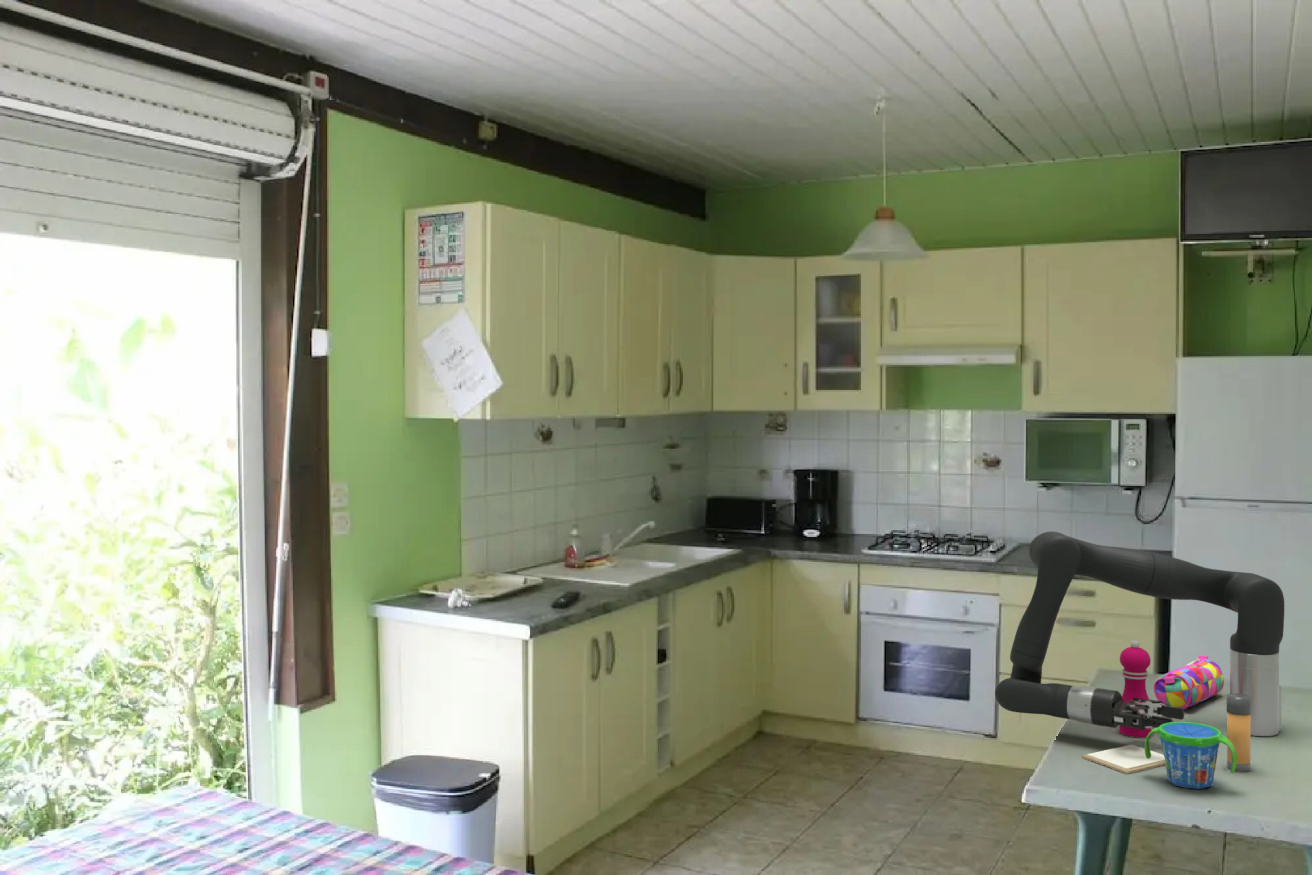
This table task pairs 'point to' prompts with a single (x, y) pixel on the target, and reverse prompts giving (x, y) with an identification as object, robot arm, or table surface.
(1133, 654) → the pepper mill
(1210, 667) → the pencil case
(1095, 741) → the table surface
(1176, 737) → the snack cup
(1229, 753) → the orange grey cylinder
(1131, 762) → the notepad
